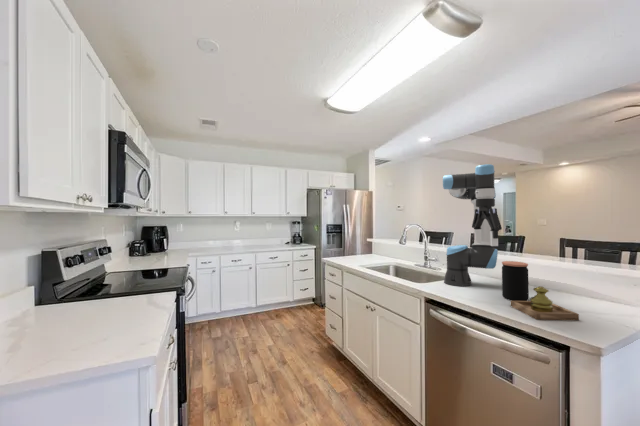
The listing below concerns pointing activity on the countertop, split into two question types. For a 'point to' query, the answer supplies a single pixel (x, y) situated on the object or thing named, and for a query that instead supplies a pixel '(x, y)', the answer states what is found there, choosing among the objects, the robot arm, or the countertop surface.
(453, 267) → the robot arm
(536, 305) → the olive green tiered piece
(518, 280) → the coffee jar
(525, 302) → the tray
